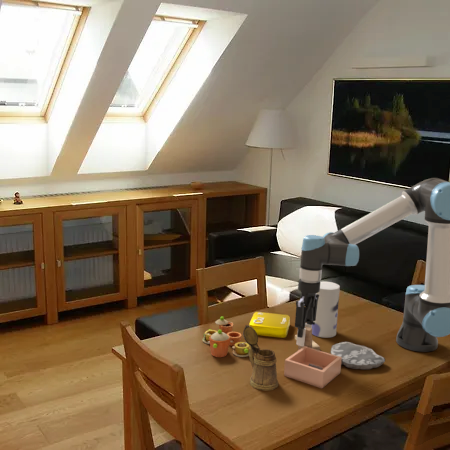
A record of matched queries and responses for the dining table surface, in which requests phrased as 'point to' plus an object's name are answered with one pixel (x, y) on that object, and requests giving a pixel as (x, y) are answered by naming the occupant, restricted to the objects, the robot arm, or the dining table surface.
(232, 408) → the dining table surface
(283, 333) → the element tile
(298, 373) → the pink open box
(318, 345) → the beige wooden plank
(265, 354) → the wooden mug
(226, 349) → the toy tea set
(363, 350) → the brain slice
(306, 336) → the tall beige block
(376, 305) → the dining table surface
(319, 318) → the container
